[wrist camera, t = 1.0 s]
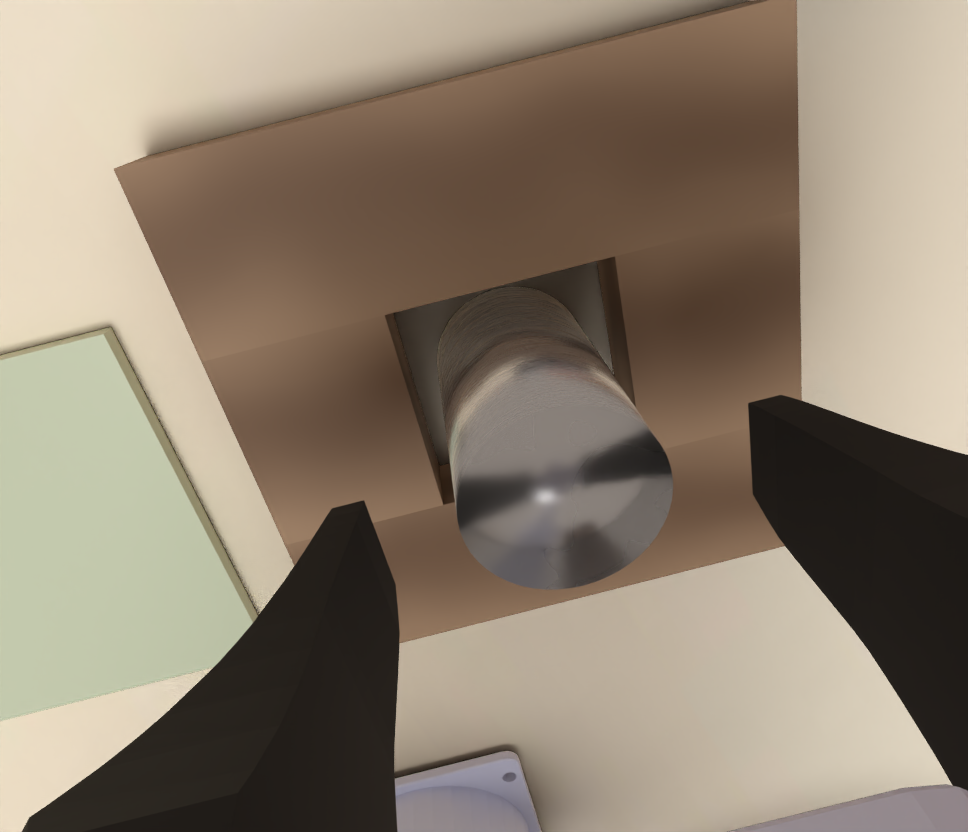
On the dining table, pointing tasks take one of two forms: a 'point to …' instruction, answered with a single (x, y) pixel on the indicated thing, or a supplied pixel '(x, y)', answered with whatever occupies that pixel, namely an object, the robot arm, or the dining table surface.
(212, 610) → the sage pad
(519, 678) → the dining table surface
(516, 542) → the metal peg
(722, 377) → the walnut holder
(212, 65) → the dining table surface
